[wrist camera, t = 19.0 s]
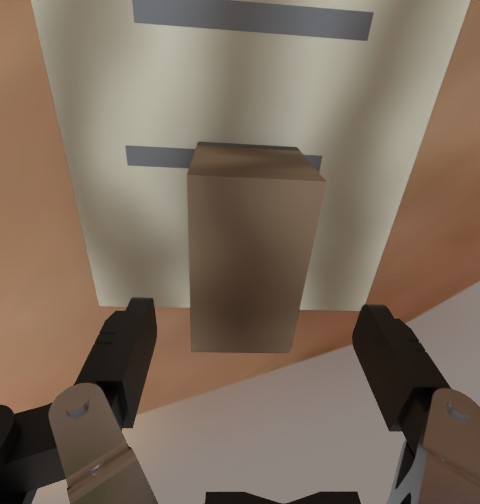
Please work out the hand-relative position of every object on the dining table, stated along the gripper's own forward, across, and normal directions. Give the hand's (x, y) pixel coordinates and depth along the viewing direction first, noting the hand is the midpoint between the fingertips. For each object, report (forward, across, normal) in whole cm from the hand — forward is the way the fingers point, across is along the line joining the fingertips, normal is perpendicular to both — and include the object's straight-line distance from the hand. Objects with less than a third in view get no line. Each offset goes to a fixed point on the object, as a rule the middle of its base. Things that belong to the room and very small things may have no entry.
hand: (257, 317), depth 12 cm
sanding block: (+7, 0, 0) cm, 7 cm away
